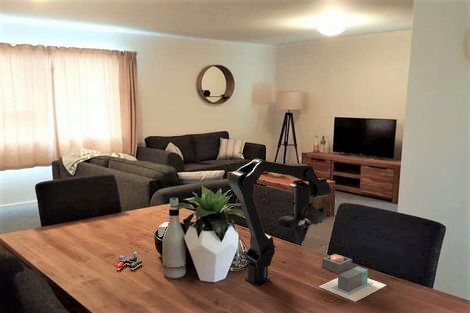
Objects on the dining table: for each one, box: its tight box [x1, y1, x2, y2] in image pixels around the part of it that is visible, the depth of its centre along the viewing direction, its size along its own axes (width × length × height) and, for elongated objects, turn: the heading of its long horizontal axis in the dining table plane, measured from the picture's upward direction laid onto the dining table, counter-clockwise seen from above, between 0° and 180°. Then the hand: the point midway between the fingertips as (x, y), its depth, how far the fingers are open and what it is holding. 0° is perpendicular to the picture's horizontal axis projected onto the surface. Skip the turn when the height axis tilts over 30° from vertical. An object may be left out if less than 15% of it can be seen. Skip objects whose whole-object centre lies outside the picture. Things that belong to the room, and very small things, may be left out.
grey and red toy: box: [115, 250, 143, 269], centre depth 161 cm, size 10×12×5 cm
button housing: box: [320, 253, 354, 275], centre depth 160 cm, size 8×8×4 cm
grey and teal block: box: [337, 266, 369, 292], centre depth 144 cm, size 11×4×4 cm, turn 130°
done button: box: [330, 254, 345, 263], centre depth 159 cm, size 5×5×3 cm
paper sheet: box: [318, 277, 387, 303], centre depth 144 cm, size 18×14×1 cm
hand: (301, 241), depth 156 cm, fingers closed
